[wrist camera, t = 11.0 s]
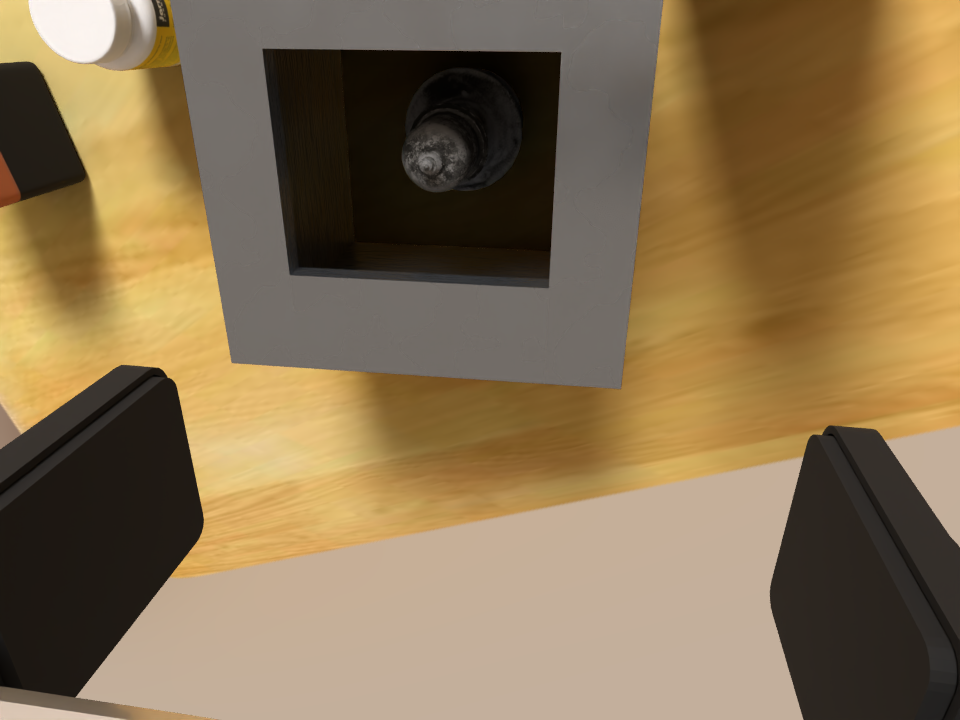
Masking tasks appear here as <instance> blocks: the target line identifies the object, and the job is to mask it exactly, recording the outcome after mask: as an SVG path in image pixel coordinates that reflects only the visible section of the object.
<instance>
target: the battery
mask: <svg viewBox="0 0 960 720" xmlns="http://www.w3.org/2000/svg"><path fill="white" fill-rule="evenodd" d="M84 178H85V172H84V170H83V167H82V165H81V163H80V161H79V158H78V156H77V154H76V152H75V150H74V147H73V145H72V143H71V141H70V138H69V136H68V134H67V132H66V129H65V127H64V125H63V123H62V121H61V118H60V116H59V114H58V112H57V109H56V107H55V105H54V103H53V100H52V98H51V96H50V94H49V92H48V89H47V87H46V85H45V83H44V80H43V78H42V76H41V74H40V72H39V70H38V68H37V66H36V65H35V64H33V63H31V62H13V63H0V208H1V207H4V206H7V205H10V204H13V203H16V202H19V201H23V200H26V199H29V198H32V197H35V196H38V195H41V194H44V193H48V192H51V191H54V190H57V189H60V188H63V187H66V186H69V185H73V184H76V183H79V182H81V181H83V180H84Z"/></svg>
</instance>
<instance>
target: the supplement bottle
mask: <svg viewBox="0 0 960 720" xmlns="http://www.w3.org/2000/svg"><path fill="white" fill-rule="evenodd" d="M29 8H30V14H31V17H32V20H33V23H34V25H35V27H36V29H37V31H38V33H39V35H40V36H41V38H42V39H43V40H44V42H45V43H46V44H47V45H48V46H49V47H50V48H51V49H52V50H53V51H54V52H55V53H57V54H58V55H60V56H61V57H63V58H65V59H67V60H69V61H72V62H75V63H79V64H96V65H98V66H100V67H103V68H106V69H110V70H118V71H125V70H136V69H146V68H158V67H169V66H179V65H181V62H180V57H179V51H178V45H177V39H176V33H175V27H174V21H173V16H172V10H171V4H170V0H29Z"/></svg>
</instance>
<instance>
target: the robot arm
mask: <svg viewBox="0 0 960 720" xmlns="http://www.w3.org/2000/svg"><path fill="white" fill-rule="evenodd" d="M203 523H204V518H203V512H202V507H201V502H200V497H199V492H198V488H197V483H196V478H195V473H194V468H193V463H192V459H191V454H190V449H189V444H188V439H187V434H186V429H185V425H184V420H183V415H182V410H181V405H180V400H179V396H178V391H177V387H176V384H175V382H174V381H173V380H172V379H170V378H167V375H166V374H165V373H164V371H163V370H161V369H160V368H154V367H142V366H130V365H121V366H119V367H116V368H115V369H113V370H112V371H111V372H109V373H108V374H106V375H105V376H104V377H102V378H101V379H99V380H98V381H96V382H95V383H94V384H92V385H91V386H89V387H88V388H87V389H85V390H84V391H82V392H81V393H79V394H78V395H77V396H75V397H74V398H72V399H71V400H70V401H68V402H67V403H65V404H64V405H63V406H61V407H60V408H58V409H57V410H55V411H54V412H53V413H51V414H50V415H48V416H47V417H46V418H44V419H43V420H41V421H40V422H38V423H37V424H36V425H34V426H33V427H31V428H30V429H29V430H27V431H26V432H24V433H23V434H22V435H20V436H19V437H17V438H16V439H15V440H13V441H12V442H10V443H9V444H7V445H6V446H5V447H3V448H2V449H0V720H217V719H211V718H205V717H199V716H192V715H186V714H179V713H173V712H166V711H160V710H153V709H146V708H140V707H134V706H127V705H120V704H114V703H107V702H100V701H94V700H88V699H81V698H75V697H76V696H77V695H78V693H79V692H80V691H81V689H82V688H83V687H84V686H85V684H86V683H87V682H88V681H89V679H90V678H91V677H92V675H93V674H94V673H95V672H96V670H97V669H98V668H99V666H100V665H101V664H102V663H103V661H104V660H105V659H106V658H107V656H108V655H109V654H110V652H111V651H112V650H113V649H114V647H115V646H116V645H117V643H118V642H119V641H120V640H121V638H122V637H123V636H124V634H125V633H126V632H127V631H128V629H129V628H130V627H131V626H132V624H133V623H134V622H135V620H136V619H137V618H138V616H139V615H140V614H141V612H142V611H143V610H144V609H145V608H146V606H147V605H148V604H149V602H150V601H151V600H152V599H153V597H154V596H155V595H156V594H157V592H158V591H159V590H160V588H161V587H162V586H163V585H164V583H165V582H166V581H167V579H168V578H169V577H170V576H171V574H172V573H173V572H174V570H175V569H176V568H177V567H178V565H179V564H180V563H181V562H182V560H183V559H184V558H185V556H186V555H187V554H188V553H189V551H190V550H191V549H192V547H193V546H194V545H195V544H196V542H197V541H198V539H199V538H200V535H201V533H202V529H203ZM770 603H771V609H772V613H773V617H774V620H775V623H776V627H777V630H778V634H779V637H780V641H781V644H782V648H783V651H784V654H785V658H786V661H787V665H788V668H789V672H790V675H791V678H792V682H793V685H794V689H795V692H796V696H797V699H798V702H799V706H800V709H801V712H802V716H803V719H804V720H960V547H959V546H958V544H957V543H956V542H955V541H954V540H953V539H952V538H951V537H950V536H949V534H948V533H947V531H946V530H945V528H944V527H943V526H942V524H941V523H940V521H939V520H938V518H937V517H936V515H935V514H934V513H933V511H932V509H931V508H930V507H929V505H928V504H927V502H926V501H925V499H924V498H923V496H922V495H921V493H920V492H919V490H918V489H917V487H916V486H915V485H914V483H913V482H912V480H911V479H910V477H909V476H908V474H907V473H906V471H905V470H904V469H903V467H902V466H901V464H900V463H899V461H898V460H897V458H896V457H895V455H894V454H893V452H892V451H891V449H890V448H889V446H888V445H887V444H886V442H885V441H884V439H883V438H882V436H881V435H880V433H879V432H878V431H877V430H874V429H866V428H854V427H842V426H831V425H830V426H828V427H827V428H826V429H825V431H824V432H823V434H822V435H812V436H811V437H810V438H809V440H808V443H807V446H806V450H805V454H804V458H803V462H802V466H801V470H800V473H799V477H798V481H797V485H796V489H795V492H794V496H793V500H792V504H791V508H790V512H789V516H788V520H787V523H786V527H785V531H784V535H783V539H782V543H781V547H780V550H779V554H778V558H777V562H776V566H775V570H774V574H773V578H772V582H771V587H770Z"/></svg>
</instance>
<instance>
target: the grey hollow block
mask: <svg viewBox="0 0 960 720" xmlns="http://www.w3.org/2000/svg"><path fill="white" fill-rule="evenodd" d="M170 4H171V10H172V16H173V21H174V27H175V33H176V39H177V45H178V51H179V57H180V62H181V68H182V74H183V80H184V86H185V92H186V98H187V103H188V109H189V115H190V121H191V127H192V133H193V139H194V144H195V150H196V156H197V162H198V168H199V174H200V179H201V185H202V191H203V197H204V203H205V209H206V215H207V220H208V226H209V232H210V238H211V244H212V250H213V256H214V261H215V267H216V273H217V279H218V285H219V291H220V296H221V302H222V308H223V314H224V320H225V326H226V332H227V337H228V343H229V349H230V355H231V361H232V363H239V364H254V365H269V366H284V367H299V368H314V369H329V370H344V371H359V372H374V373H389V374H404V375H419V376H434V377H449V378H464V379H479V380H494V381H509V382H524V383H539V384H554V385H569V386H584V387H599V388H614V389H621V383H622V374H623V365H624V355H625V346H626V337H627V328H628V319H629V309H630V300H631V291H632V282H633V273H634V264H635V254H636V245H637V236H638V227H639V218H640V209H641V199H642V190H643V181H644V172H645V163H646V154H647V144H648V135H649V126H650V117H651V108H652V98H653V89H654V80H655V71H656V62H657V53H658V43H659V34H660V25H661V16H662V7H663V0H170ZM340 49H344V50H432V51H519V52H561V69H560V88H559V107H558V126H557V145H556V164H555V183H554V202H553V221H552V240H551V251H547V250H525V249H502V248H480V247H457V246H435V245H412V244H390V243H368V242H355V236H354V223H353V210H352V197H351V184H350V171H349V158H348V145H347V132H346V118H345V105H344V92H343V79H342V66H341V53H340Z"/></svg>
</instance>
